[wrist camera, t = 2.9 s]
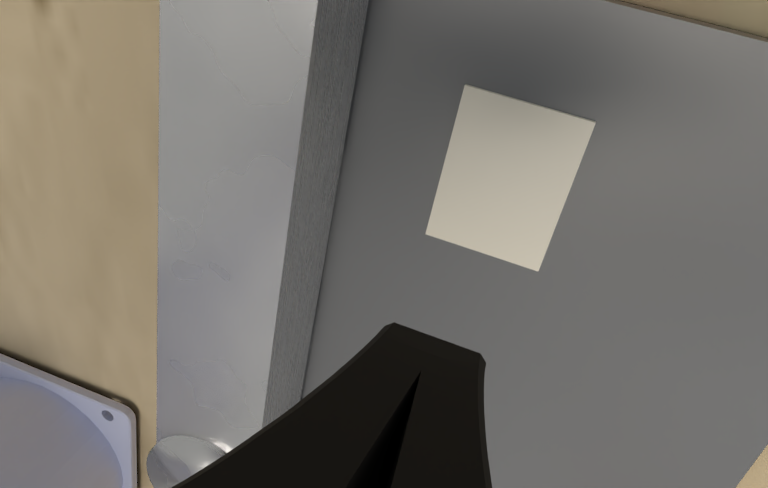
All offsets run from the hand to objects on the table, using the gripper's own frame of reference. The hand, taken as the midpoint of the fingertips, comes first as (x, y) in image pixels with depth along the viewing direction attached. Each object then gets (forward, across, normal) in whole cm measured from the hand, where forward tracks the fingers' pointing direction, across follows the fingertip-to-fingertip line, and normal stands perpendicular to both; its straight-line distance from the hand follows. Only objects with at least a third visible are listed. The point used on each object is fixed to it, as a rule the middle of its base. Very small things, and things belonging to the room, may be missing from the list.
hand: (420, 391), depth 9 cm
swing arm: (+7, +6, +4) cm, 10 cm away
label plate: (+8, 0, +4) cm, 9 cm away
